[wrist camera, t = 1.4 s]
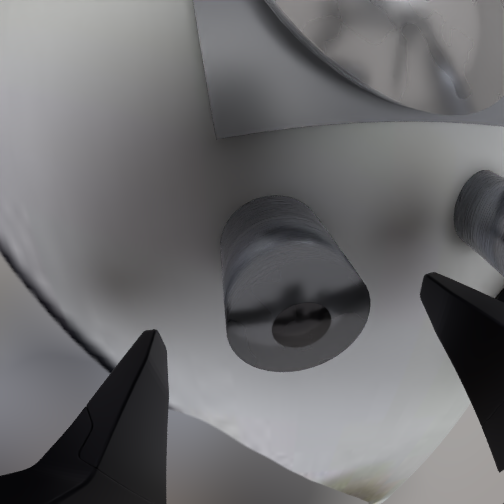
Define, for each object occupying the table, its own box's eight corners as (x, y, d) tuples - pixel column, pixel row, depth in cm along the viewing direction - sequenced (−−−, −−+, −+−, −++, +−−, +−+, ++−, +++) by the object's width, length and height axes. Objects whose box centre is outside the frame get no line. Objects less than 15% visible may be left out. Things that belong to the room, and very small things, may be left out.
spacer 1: (341, 235, 13) (394, 307, 9) (275, 301, 15) (299, 385, 10) (267, 173, 12) (303, 231, 7) (199, 254, 13) (196, 341, 9)
